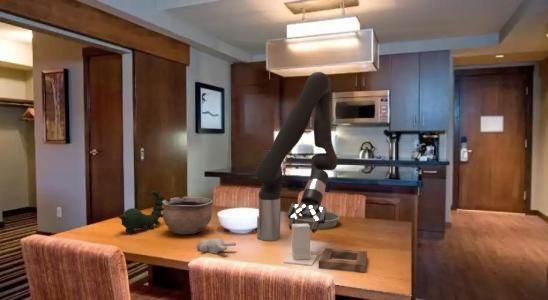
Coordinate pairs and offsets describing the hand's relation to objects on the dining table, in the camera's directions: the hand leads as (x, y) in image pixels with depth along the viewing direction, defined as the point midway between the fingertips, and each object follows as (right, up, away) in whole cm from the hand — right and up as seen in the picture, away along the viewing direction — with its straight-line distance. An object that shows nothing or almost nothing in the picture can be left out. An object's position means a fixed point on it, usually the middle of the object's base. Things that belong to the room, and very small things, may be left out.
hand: (301, 230), depth 135 cm
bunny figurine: (-32, -10, +9) cm, 35 cm away
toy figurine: (-71, -9, +41) cm, 83 cm away
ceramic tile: (0, -11, -1) cm, 11 cm away
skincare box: (0, -10, 0) cm, 10 cm away
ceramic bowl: (-49, -9, +37) cm, 62 cm away
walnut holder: (+14, -11, -4) cm, 18 cm away
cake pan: (+11, -9, +55) cm, 56 cm away
